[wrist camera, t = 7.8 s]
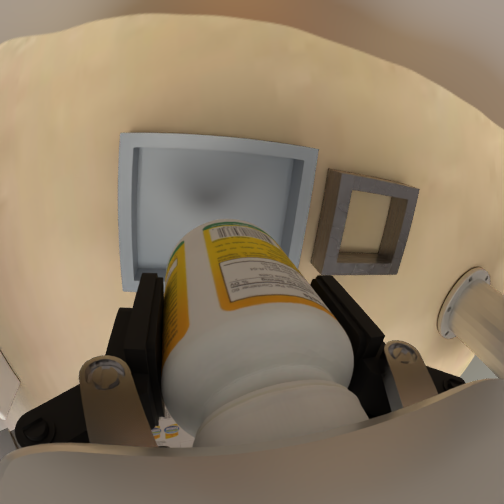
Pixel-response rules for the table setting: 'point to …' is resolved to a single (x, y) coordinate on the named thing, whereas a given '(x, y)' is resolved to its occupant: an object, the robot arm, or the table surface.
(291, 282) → the supplement bottle
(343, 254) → the collar
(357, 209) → the table surface
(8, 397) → the medicine bottle
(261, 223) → the tray
